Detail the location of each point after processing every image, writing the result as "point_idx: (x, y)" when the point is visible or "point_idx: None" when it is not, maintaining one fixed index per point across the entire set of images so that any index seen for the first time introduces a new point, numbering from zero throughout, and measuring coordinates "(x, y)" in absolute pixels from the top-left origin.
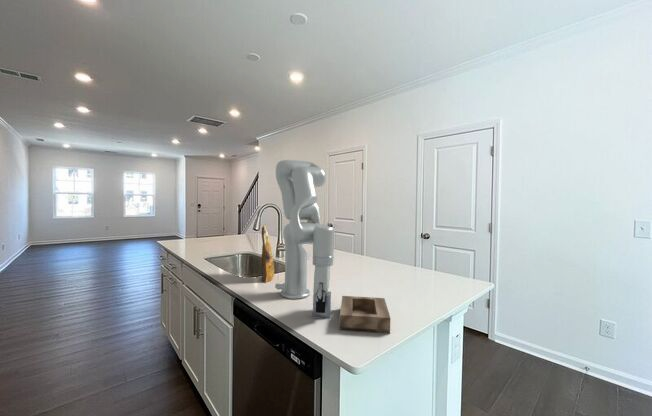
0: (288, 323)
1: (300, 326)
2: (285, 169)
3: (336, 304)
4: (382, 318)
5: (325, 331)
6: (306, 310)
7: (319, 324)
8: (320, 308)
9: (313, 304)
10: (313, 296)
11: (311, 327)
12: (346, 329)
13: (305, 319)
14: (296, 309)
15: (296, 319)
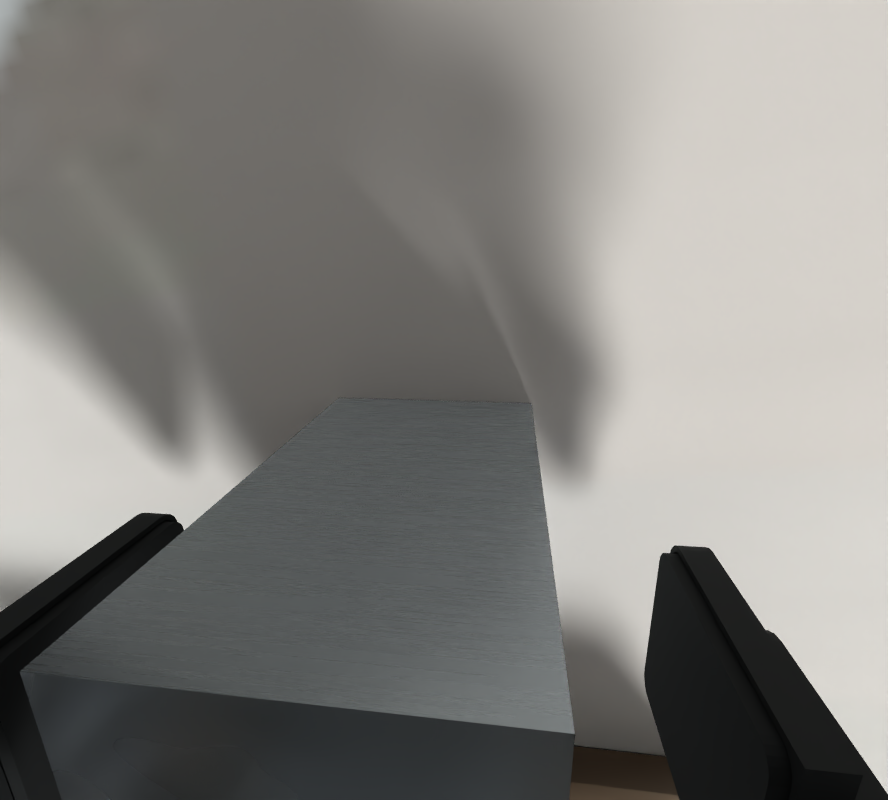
0: (22, 55)
1: (11, 272)
2: None
3: (874, 706)
4: None
5: (21, 568)
6: (583, 254)
7: (149, 501)
8: None
9: (241, 492)
10: (80, 630)
11: (43, 417)
12: None
13: (231, 302)
14: (618, 28)
15: (190, 155)
